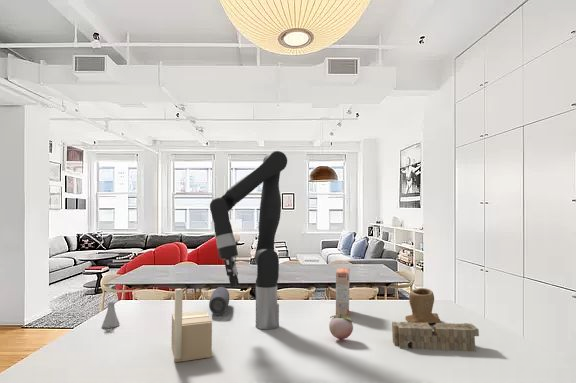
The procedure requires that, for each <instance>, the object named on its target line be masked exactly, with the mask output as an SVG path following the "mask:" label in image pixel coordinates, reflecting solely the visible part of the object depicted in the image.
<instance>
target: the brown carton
mask: <svg viewBox="0 0 576 383" xmlns="http://www.w3.org/2000/svg"><path fill="white" fill-rule="evenodd" d="M205 322H212V323H213V320H212V319H211V318H210V315H209V314H208V313H207V312H206V310H202V311H201V310H200V311H199V310H198V311H190V312H182V325H187V324H196V323H205ZM174 324H175V313H171V350H172V354H173V356H174Z"/></svg>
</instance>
